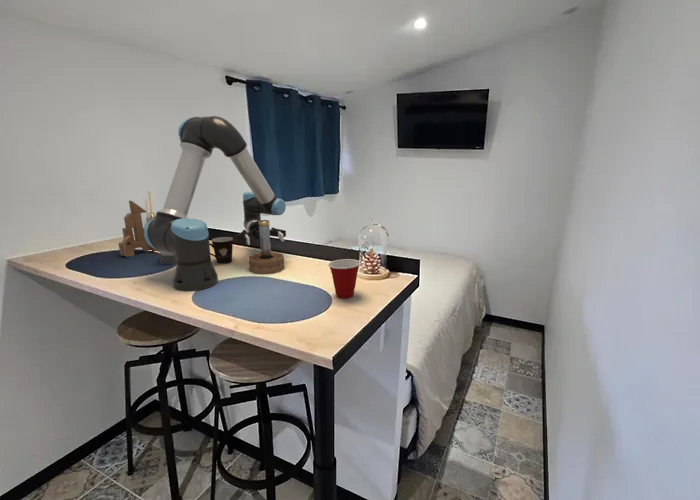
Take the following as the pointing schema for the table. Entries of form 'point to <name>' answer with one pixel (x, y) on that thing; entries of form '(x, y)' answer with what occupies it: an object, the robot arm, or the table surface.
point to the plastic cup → (344, 276)
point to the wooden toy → (134, 222)
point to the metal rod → (265, 239)
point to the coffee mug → (222, 249)
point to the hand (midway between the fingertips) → (266, 239)
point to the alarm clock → (167, 257)
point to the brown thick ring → (266, 263)
